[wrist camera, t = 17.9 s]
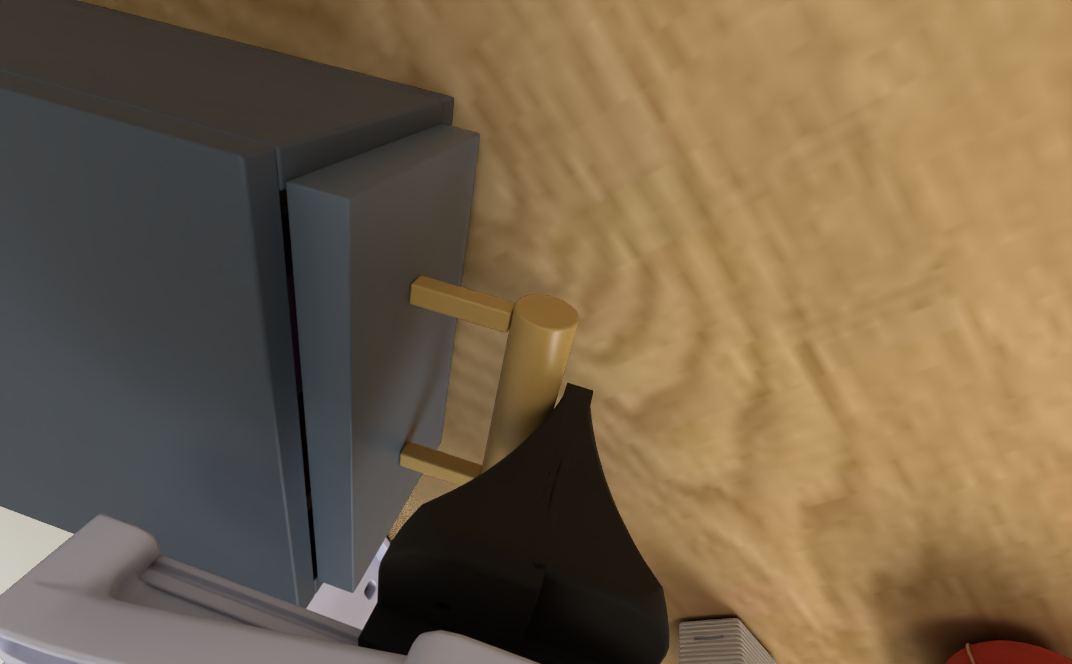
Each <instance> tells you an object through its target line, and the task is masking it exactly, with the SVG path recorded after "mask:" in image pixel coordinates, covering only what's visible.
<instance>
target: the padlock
mask: <svg viewBox="0 0 1072 664" xmlns="http://www.w3.org/2000/svg"><path fill="white" fill-rule="evenodd" d="M679 635H680V636H679V640H680V641H679V644H680V645H679V649H680V650H679V654H680V655H679V658H680V659H679V663H680V664H776V662H775V660H774V659H773V658H772V657H771V655H770V654H769V653H768V652H767V651H766V650H765V649H764V647H763V646H762V645H761V644H760V643H759V642H758V640H757V639H756V638H755V637H754V636H753V635H752V633H751V632H750V631H749V630H748V629H747V628H746V627H745V625H744V624H743V623H742V622H741V621H740V620H739V619H738V618H727V619H715V620H703V621H690V622H681V623H680V624H679Z"/></svg>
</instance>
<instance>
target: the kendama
mask: <svg viewBox="0 0 1072 664" xmlns="http://www.w3.org/2000/svg"><path fill="white" fill-rule="evenodd" d="M946 664H1072V660H1071V659H1069V658H1067V657H1065V656H1062V655H1060V654H1058V653H1055V652H1053V651H1050V650H1048V649H1045V648H1042V647H1038V646H1035V645H1031V644H1027V643H1022V642H1016V641H1006V640H994V641H985V642H980V643H976V644H969V643H967V644H966V647H965V648H963V649H962V650H960V651H958V652H957V653H956V654H954V655H953V656H952V657H950V658H949V659H948V661H947V662H946Z"/></svg>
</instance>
